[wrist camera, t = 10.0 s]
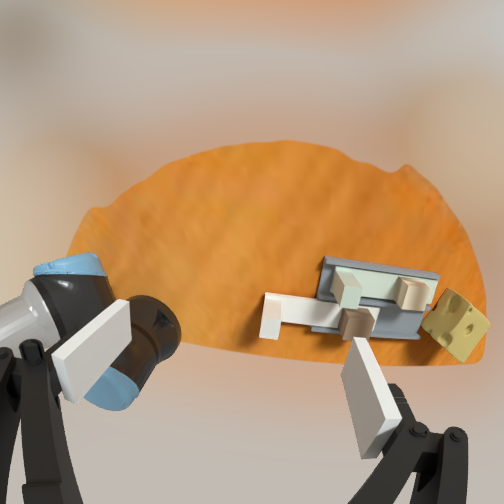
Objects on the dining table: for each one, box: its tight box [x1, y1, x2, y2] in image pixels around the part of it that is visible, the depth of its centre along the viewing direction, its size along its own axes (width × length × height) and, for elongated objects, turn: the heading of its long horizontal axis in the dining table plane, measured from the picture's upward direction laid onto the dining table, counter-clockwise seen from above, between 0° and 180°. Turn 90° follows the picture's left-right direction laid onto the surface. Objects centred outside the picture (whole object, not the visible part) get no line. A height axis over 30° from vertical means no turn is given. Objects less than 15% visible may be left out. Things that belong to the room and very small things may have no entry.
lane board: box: [310, 256, 441, 340], centre depth 51 cm, size 24×14×3 cm, turn 83°
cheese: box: [421, 287, 491, 363], centre depth 47 cm, size 10×11×10 cm
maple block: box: [393, 276, 431, 311], centre depth 47 cm, size 5×4×5 cm
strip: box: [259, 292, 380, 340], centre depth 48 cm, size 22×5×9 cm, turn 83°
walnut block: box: [338, 308, 375, 342], centre depth 49 cm, size 5×4×5 cm
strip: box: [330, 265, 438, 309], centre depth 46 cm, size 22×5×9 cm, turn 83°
